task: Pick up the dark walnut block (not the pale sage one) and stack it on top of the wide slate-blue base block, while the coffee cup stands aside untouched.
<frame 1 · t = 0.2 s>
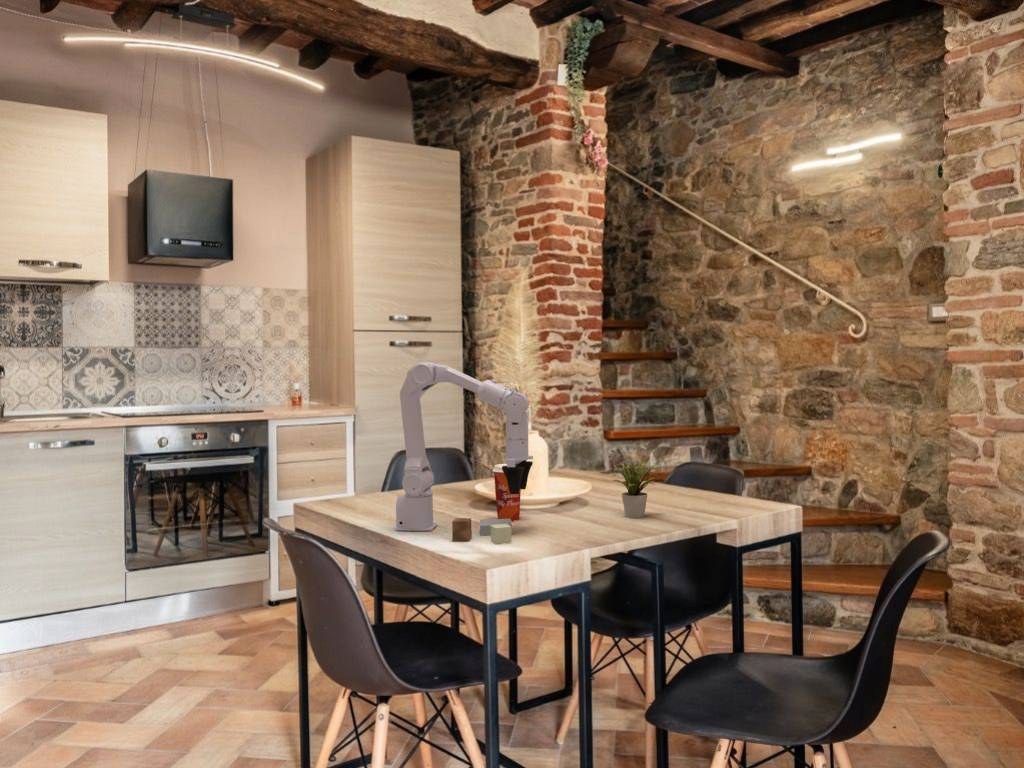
hand: (518, 491, 213), 10 cm above the table, tool pointing down, fingers open, 7 cm apart
sage block: (501, 542, 200), on the table
walnut block: (462, 539, 203), on the table
coffee cup: (508, 519, 228), on the table
base block: (495, 533, 211), on the table
house plant: (636, 517, 227), on the table
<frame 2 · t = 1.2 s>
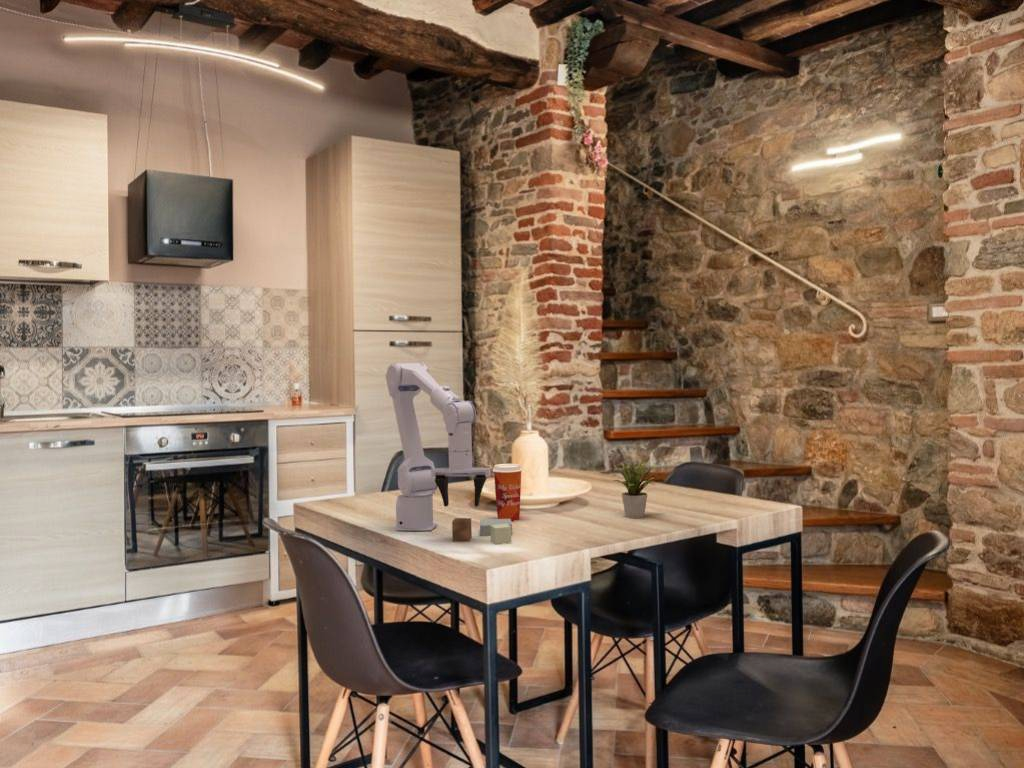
hand: (461, 505, 203), 8 cm above the table, tool pointing down, fingers open, 7 cm apart
nothing on the table moved.
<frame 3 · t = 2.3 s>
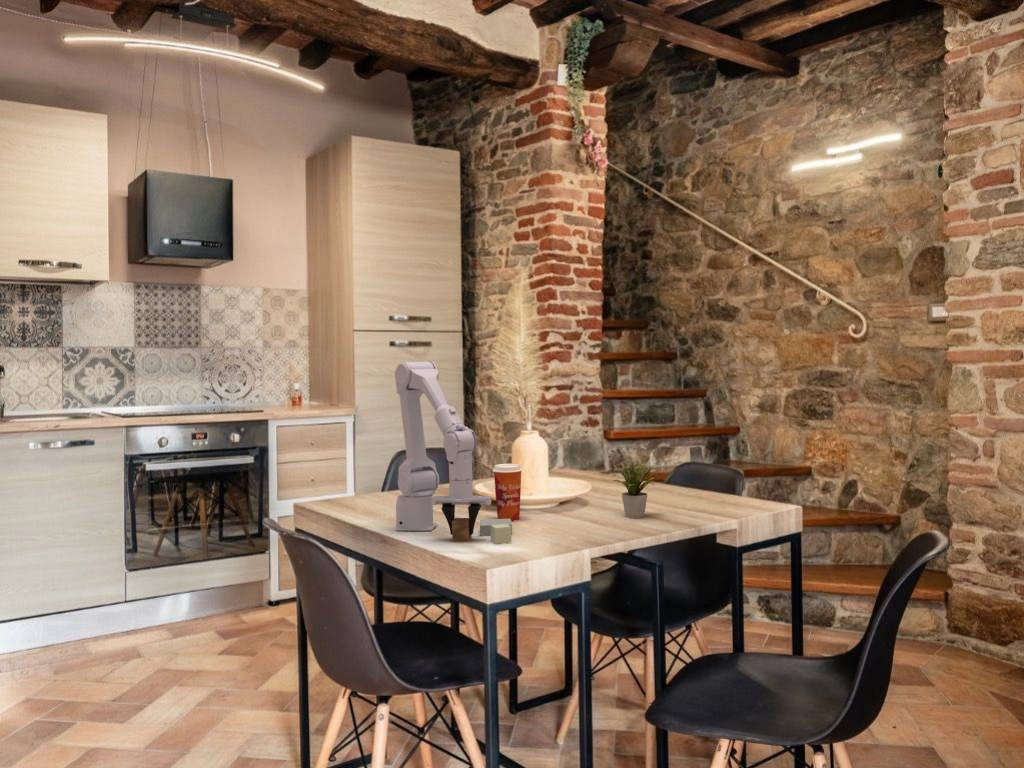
hand: (462, 533, 203), 1 cm above the table, tool pointing down, fingers closed on walnut block, 4 cm apart
walnut block: (462, 539, 203), on the table, touching gripper
everything else where it was.
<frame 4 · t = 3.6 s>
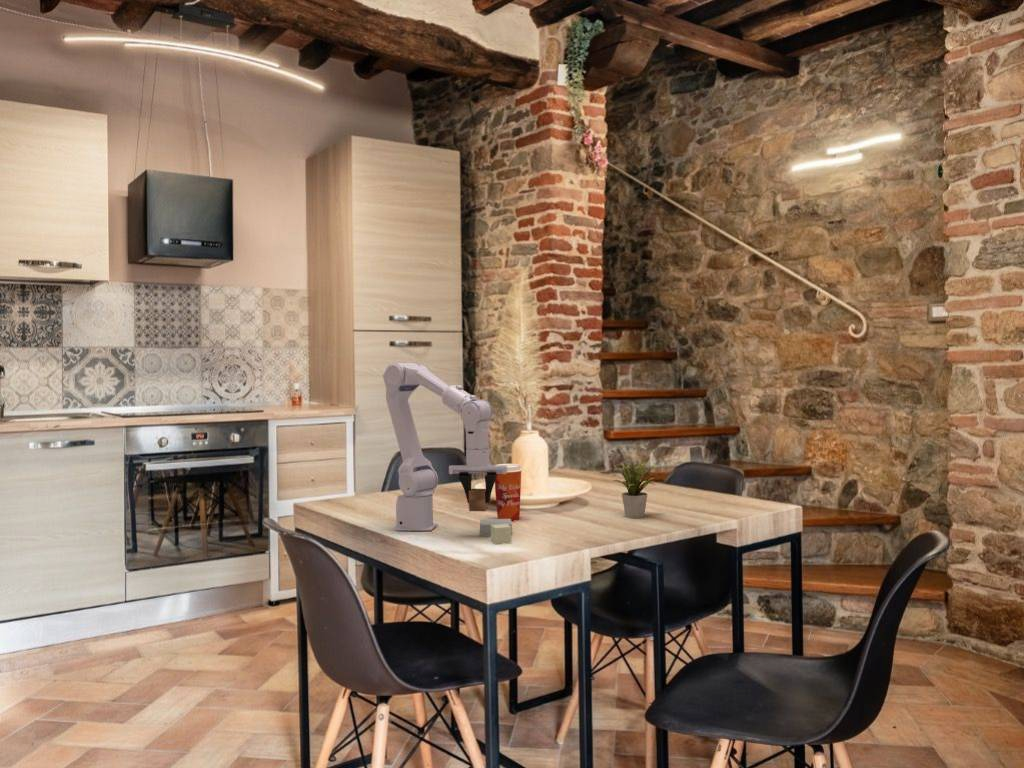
hand: (478, 502, 207), 8 cm above the table, tool pointing down, fingers closed on walnut block, 4 cm apart
walnut block: (478, 509, 206), point 7 cm above the table, touching gripper
everything else where it was.
when the fingers open (6 cm above the table, at t = 4.8 s): walnut block drops 1 cm, point 3 cm above the table.
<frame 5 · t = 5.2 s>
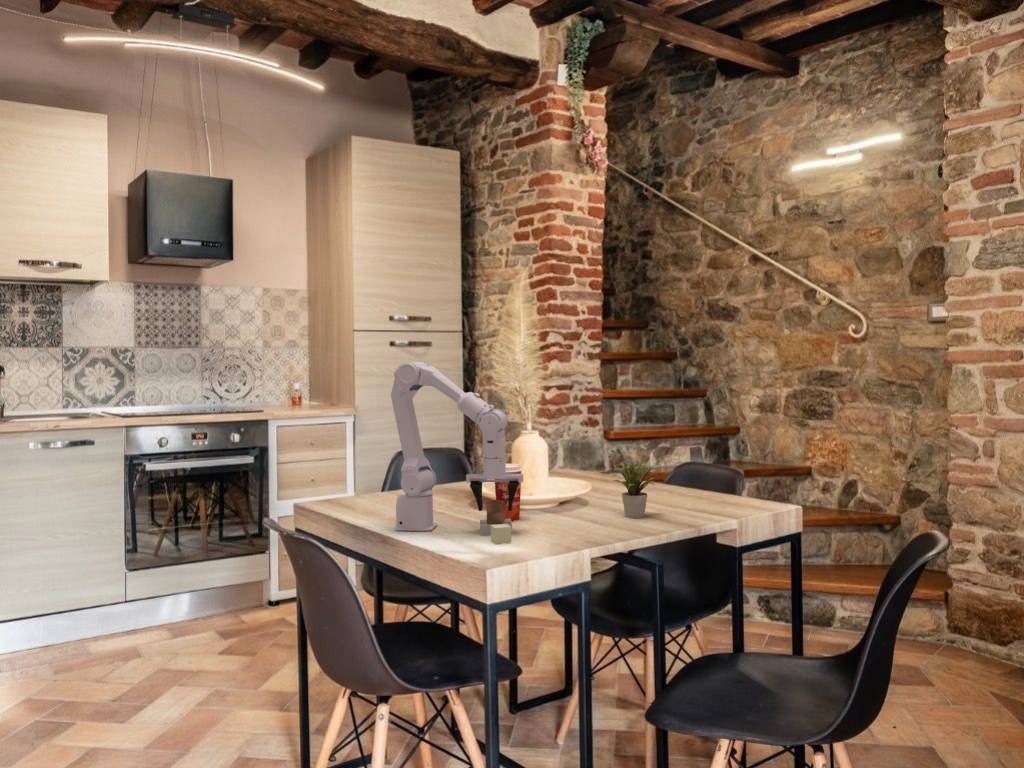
hand: (495, 510, 211), 6 cm above the table, tool pointing down, fingers open, 7 cm apart
walnut block: (495, 522, 211), point 3 cm above the table
everything else where it was.
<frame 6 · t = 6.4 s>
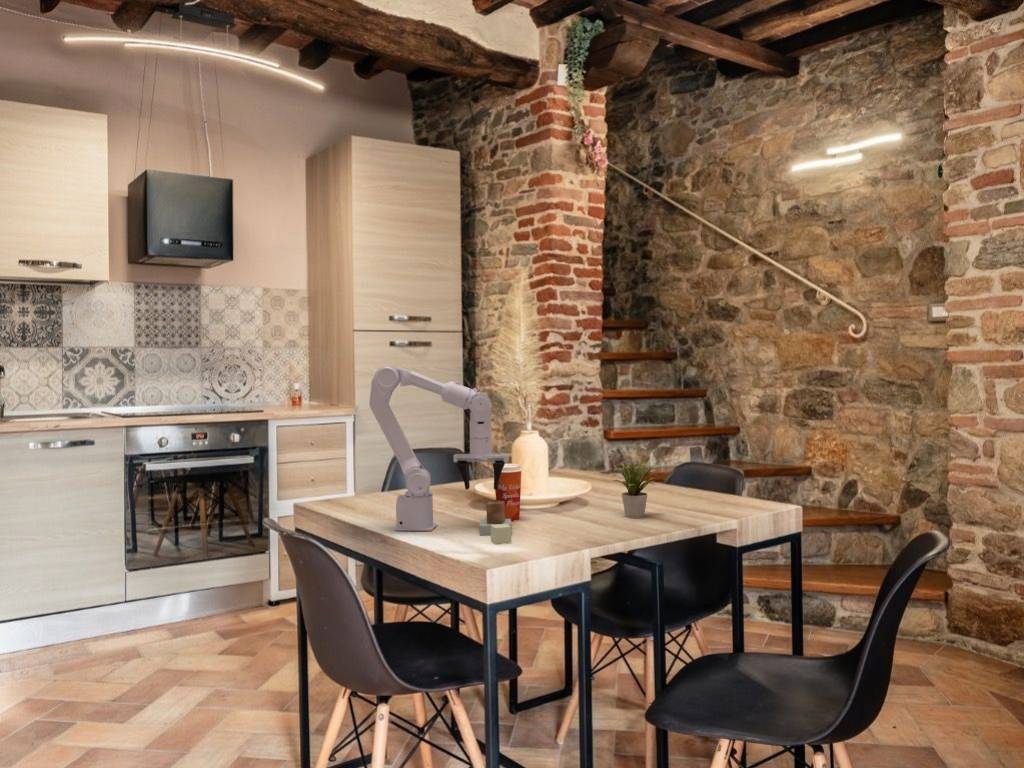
hand: (481, 489, 219), 10 cm above the table, tool pointing down, fingers open, 7 cm apart
nothing on the table moved.
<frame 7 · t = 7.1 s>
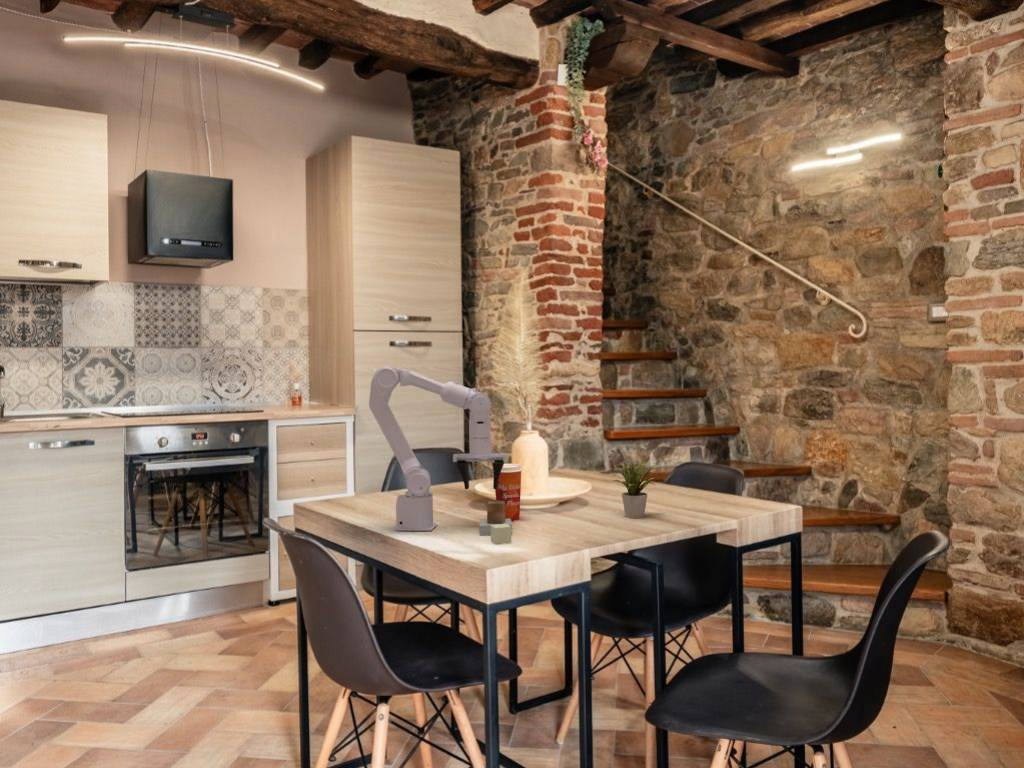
hand: (481, 488, 219), 10 cm above the table, tool pointing down, fingers open, 7 cm apart
walnut block: (496, 521, 211), point 3 cm above the table, touching base block
base block: (495, 533, 211), on the table, touching walnut block
everything else where it was.
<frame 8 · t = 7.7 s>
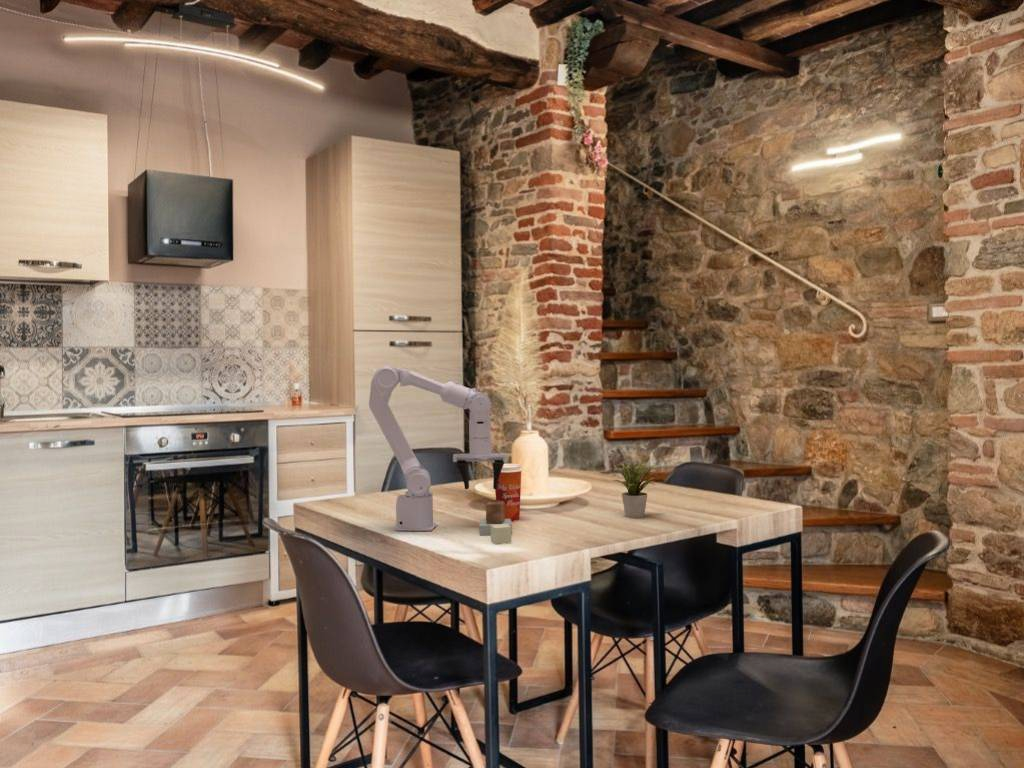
hand: (481, 488, 219), 10 cm above the table, tool pointing down, fingers open, 7 cm apart
nothing on the table moved.
at the end: walnut block 0.3 cm off-centre on the base block, point 3.0 cm above the base block's base; walnut block tilted 1°; the gripper is holding nothing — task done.
